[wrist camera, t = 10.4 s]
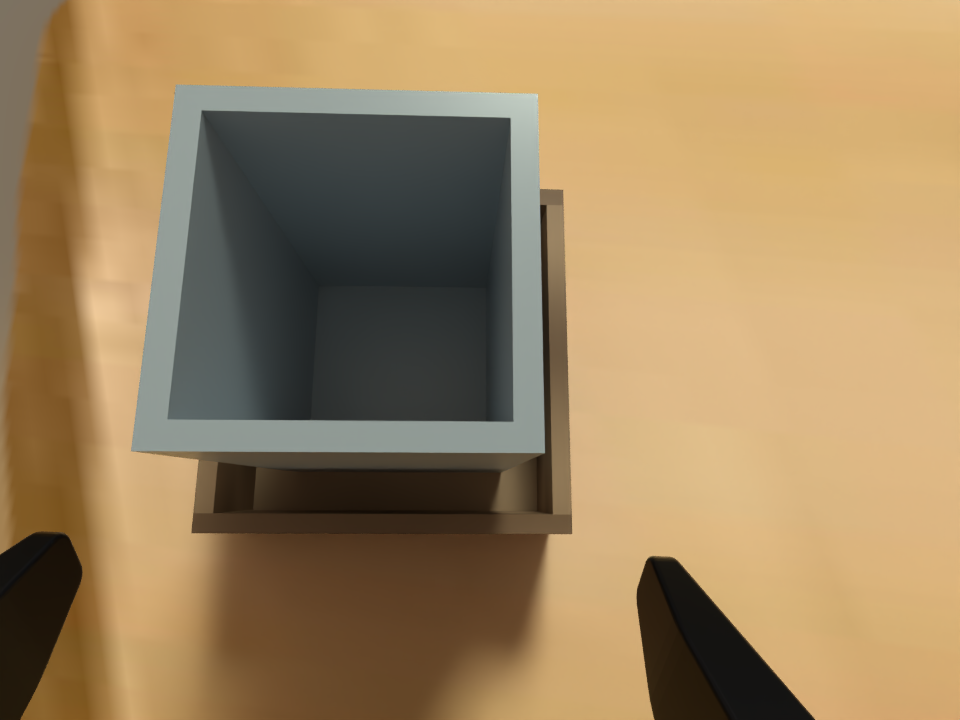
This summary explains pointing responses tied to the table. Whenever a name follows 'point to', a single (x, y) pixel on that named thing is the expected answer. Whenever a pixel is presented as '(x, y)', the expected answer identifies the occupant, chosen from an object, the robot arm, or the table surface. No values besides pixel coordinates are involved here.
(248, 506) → the walnut crate
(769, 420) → the table surface
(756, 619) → the table surface
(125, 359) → the table surface
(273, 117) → the grey crate
